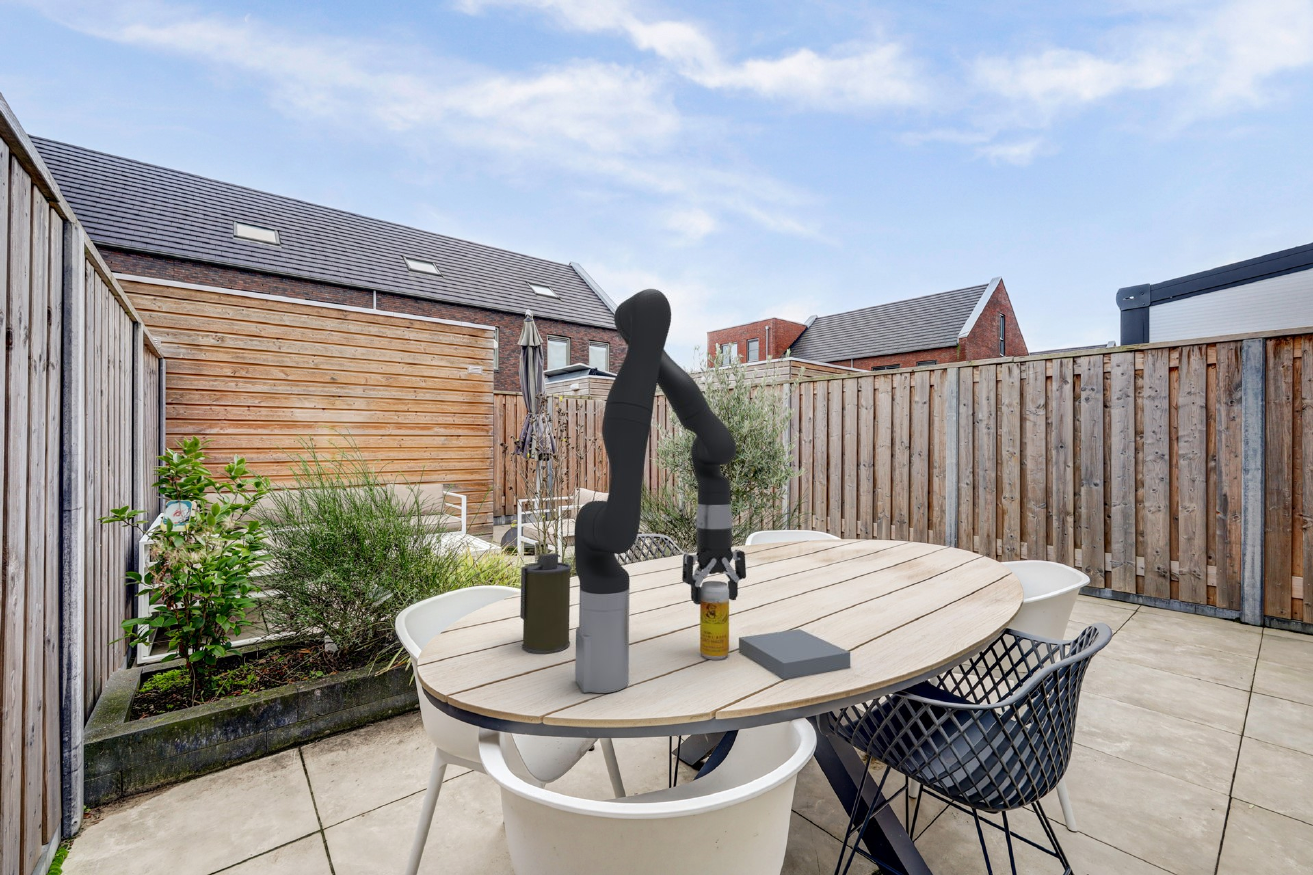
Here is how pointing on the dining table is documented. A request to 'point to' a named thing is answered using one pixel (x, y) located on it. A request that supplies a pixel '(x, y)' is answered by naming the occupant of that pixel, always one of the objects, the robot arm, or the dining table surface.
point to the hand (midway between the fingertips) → (714, 601)
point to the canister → (545, 605)
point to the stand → (794, 653)
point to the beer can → (714, 620)
